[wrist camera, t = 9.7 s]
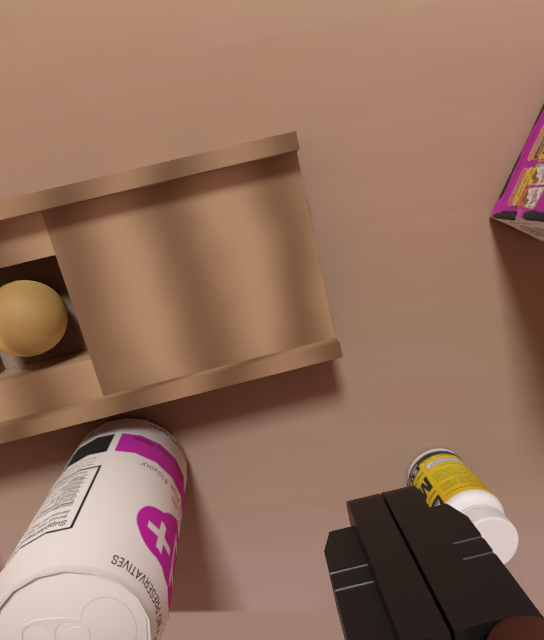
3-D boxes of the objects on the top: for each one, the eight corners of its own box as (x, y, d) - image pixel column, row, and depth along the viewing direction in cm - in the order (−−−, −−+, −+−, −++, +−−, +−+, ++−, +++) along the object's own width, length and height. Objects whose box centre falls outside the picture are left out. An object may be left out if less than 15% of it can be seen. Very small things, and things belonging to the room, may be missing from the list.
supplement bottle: (401, 454, 39) (448, 521, 30) (459, 440, 39) (522, 503, 31) (409, 507, 40) (457, 585, 32) (466, 493, 40) (528, 567, 32)
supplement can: (185, 411, 36) (158, 550, 22) (189, 511, 38) (168, 701, 23) (69, 416, 35) (-38, 564, 21) (80, 518, 37) (-12, 719, 23)
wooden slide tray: (286, 140, 32) (295, 131, 28) (329, 339, 36) (342, 357, 32) (-110, 233, 31) (-159, 238, 27) (-28, 429, 35) (-61, 459, 31)
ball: (2, 287, 27) (-47, 296, 30) (32, 367, 29) (-17, 370, 31) (69, 267, 31) (22, 276, 34) (93, 337, 33) (45, 342, 35)
